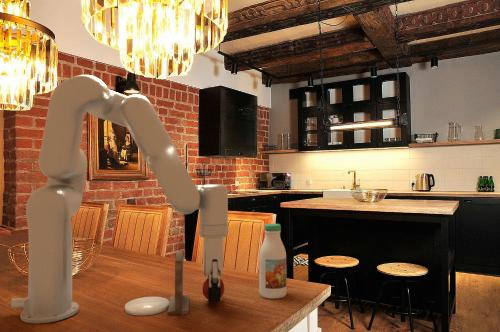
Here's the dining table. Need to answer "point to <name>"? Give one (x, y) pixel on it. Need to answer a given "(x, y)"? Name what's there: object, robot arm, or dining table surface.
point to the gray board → (179, 290)
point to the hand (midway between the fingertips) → (213, 297)
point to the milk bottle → (272, 264)
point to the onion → (206, 285)
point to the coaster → (147, 306)
